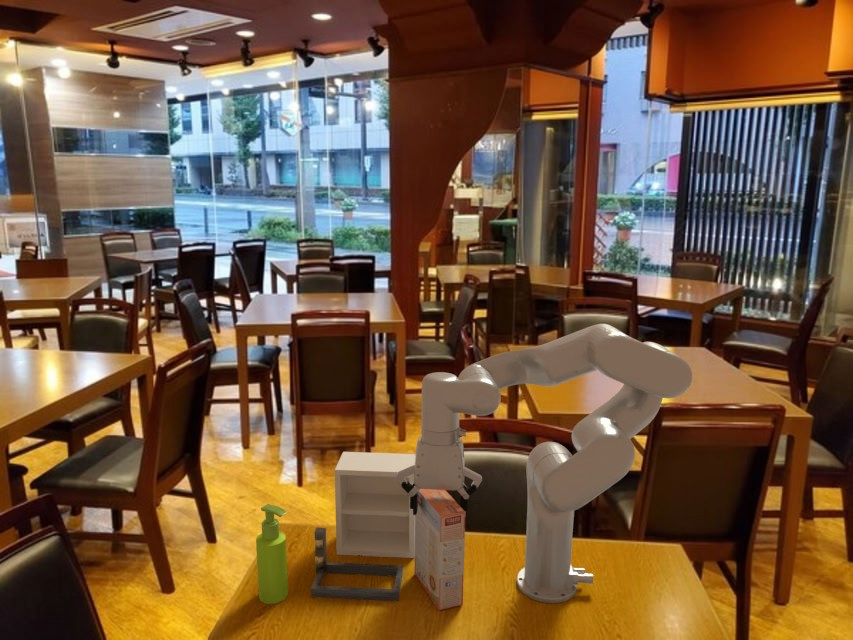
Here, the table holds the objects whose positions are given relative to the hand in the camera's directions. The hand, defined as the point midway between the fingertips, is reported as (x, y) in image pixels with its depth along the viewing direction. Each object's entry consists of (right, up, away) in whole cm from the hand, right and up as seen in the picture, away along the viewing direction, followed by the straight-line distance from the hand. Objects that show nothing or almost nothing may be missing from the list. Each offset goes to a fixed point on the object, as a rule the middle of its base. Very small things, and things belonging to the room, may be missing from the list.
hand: (438, 512), depth 131 cm
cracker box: (0, -17, +4) cm, 18 cm away
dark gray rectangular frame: (-17, -17, +5) cm, 24 cm away
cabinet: (-14, -14, +20) cm, 28 cm away
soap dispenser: (-34, -18, +1) cm, 38 cm away
